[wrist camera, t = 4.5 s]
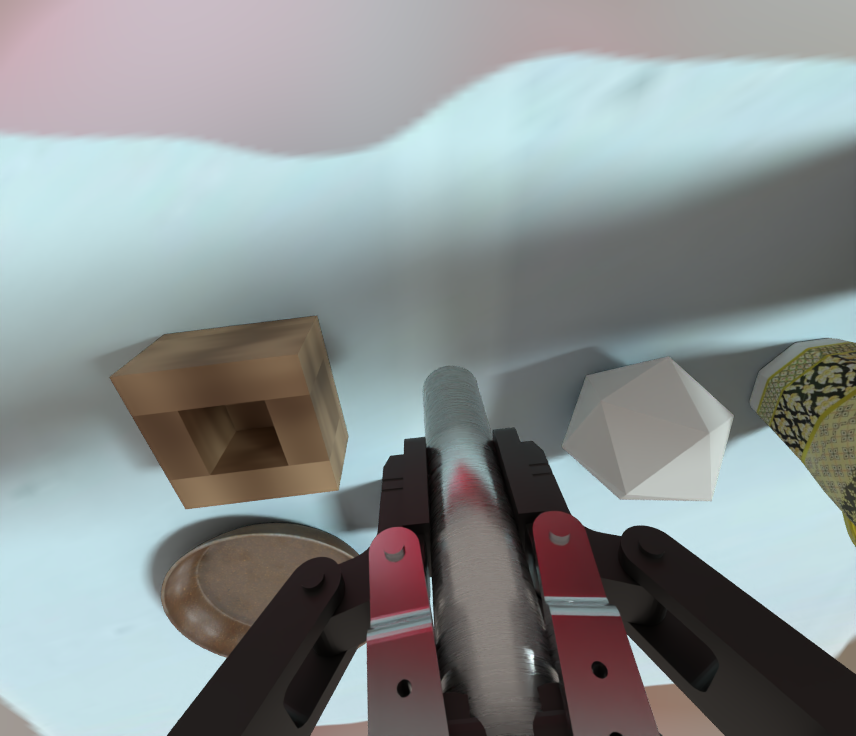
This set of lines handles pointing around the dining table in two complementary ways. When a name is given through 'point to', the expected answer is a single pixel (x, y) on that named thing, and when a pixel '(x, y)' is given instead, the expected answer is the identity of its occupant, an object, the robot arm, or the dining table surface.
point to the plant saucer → (239, 579)
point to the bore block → (239, 411)
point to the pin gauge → (479, 566)
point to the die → (649, 432)
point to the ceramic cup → (816, 414)
